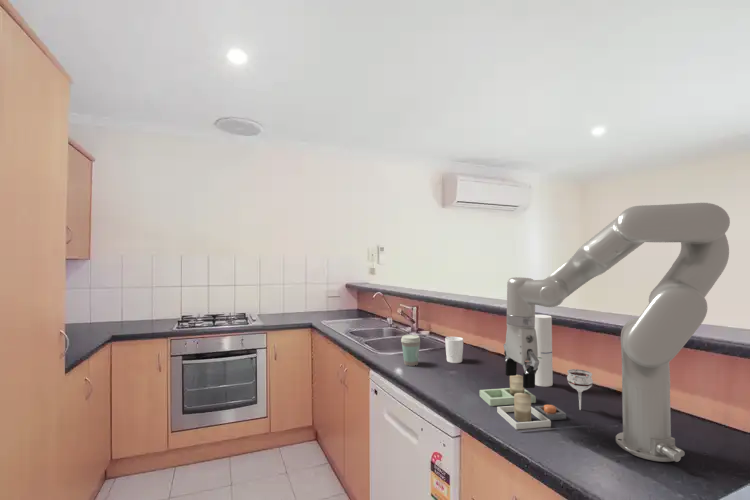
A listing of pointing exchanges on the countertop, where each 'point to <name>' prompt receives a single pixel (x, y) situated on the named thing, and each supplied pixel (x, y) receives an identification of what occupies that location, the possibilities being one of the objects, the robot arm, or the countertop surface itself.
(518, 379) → the cylinder
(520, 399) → the cylinder
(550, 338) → the cylindrical container
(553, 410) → the button
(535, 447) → the countertop surface
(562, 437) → the countertop surface
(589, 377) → the wineglass
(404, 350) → the coffee cup
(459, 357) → the white cup
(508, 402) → the pale green flat tray
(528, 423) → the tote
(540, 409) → the button housing
